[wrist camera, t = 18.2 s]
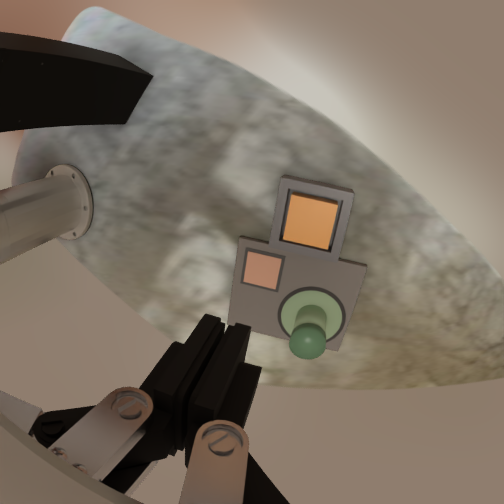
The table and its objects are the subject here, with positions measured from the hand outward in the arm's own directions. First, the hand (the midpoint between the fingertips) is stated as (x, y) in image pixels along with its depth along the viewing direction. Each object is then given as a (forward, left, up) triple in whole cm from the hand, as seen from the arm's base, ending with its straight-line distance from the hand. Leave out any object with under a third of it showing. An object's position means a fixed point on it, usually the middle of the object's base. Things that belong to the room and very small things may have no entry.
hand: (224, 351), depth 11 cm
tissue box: (-26, +12, -28) cm, 40 cm away
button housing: (+2, -1, -27) cm, 28 cm away
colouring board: (+2, -12, -27) cm, 30 cm away
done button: (+2, -1, -26) cm, 26 cm away
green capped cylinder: (+5, -14, -26) cm, 30 cm away
